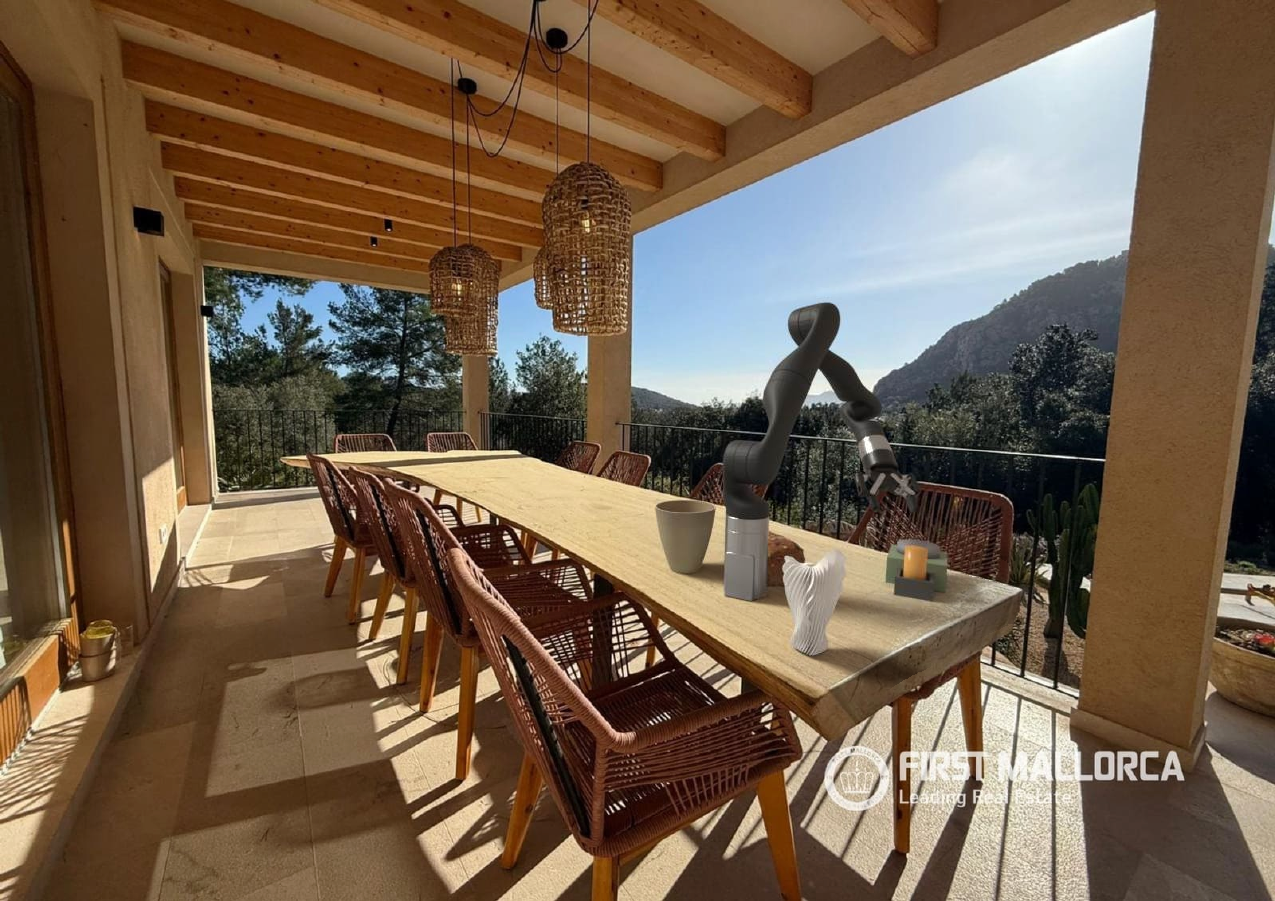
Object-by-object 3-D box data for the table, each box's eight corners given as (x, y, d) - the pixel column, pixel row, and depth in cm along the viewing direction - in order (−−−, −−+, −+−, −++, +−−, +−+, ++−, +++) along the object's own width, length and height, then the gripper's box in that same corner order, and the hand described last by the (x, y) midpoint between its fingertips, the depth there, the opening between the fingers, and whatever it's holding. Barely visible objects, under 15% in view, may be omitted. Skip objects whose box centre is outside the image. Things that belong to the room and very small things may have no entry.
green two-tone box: (945, 603, 109) (948, 566, 108) (882, 592, 115) (884, 557, 114) (945, 576, 126) (947, 543, 125) (890, 567, 132) (892, 536, 131)
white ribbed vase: (773, 646, 90) (777, 544, 88) (805, 635, 94) (810, 538, 92) (812, 668, 83) (817, 558, 81) (845, 655, 87) (851, 550, 85)
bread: (805, 584, 120) (807, 542, 119) (762, 588, 117) (764, 545, 116) (765, 559, 138) (767, 522, 137) (728, 562, 135) (729, 524, 134)
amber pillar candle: (924, 597, 112) (927, 552, 111) (901, 593, 115) (904, 549, 113) (925, 591, 116) (928, 547, 115) (902, 587, 118) (905, 544, 117)
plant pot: (680, 555, 140) (681, 497, 138) (726, 568, 130) (728, 505, 128) (641, 568, 130) (642, 505, 128) (688, 584, 119) (690, 515, 118)
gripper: (853, 447, 131) (871, 501, 121) (910, 447, 131) (933, 502, 121) (844, 465, 137) (860, 518, 127) (899, 465, 137) (919, 519, 127)
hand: (895, 510), depth 124 cm, fingers open, 8 cm apart
